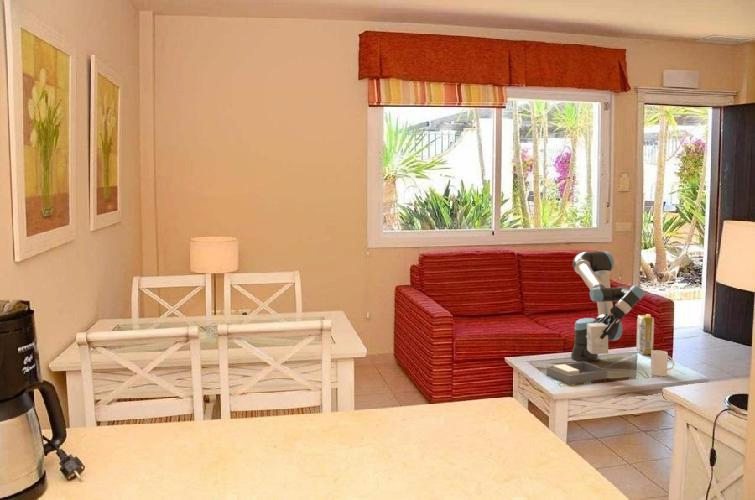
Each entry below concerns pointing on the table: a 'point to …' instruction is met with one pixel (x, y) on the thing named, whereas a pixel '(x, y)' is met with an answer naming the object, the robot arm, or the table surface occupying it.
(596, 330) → the supplement box
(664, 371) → the mug
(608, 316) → the robot arm
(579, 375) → the tray
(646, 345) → the juice carton
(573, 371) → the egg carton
